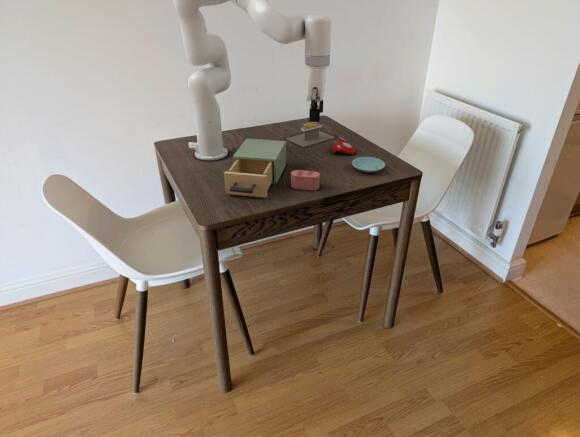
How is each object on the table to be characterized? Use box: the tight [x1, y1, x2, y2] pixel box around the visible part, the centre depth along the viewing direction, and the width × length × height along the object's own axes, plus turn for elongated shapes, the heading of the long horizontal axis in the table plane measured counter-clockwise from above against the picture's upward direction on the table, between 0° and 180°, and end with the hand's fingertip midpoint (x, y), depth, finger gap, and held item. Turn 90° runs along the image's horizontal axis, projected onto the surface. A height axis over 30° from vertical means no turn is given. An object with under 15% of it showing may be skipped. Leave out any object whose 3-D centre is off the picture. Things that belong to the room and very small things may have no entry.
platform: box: [285, 121, 336, 148], centre depth 178 cm, size 12×18×7 cm, turn 127°
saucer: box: [351, 156, 386, 174], centre depth 153 cm, size 12×12×2 cm
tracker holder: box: [330, 136, 356, 155], centre depth 167 cm, size 12×4×10 cm
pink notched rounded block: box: [290, 169, 321, 191], centre depth 140 cm, size 10×4×5 cm, turn 79°
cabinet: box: [232, 137, 287, 185], centre depth 149 cm, size 17×15×9 cm
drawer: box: [223, 159, 274, 198], centre depth 137 cm, size 20×13×7 cm, turn 169°
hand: (316, 116), depth 136 cm, fingers open, 9 cm apart
